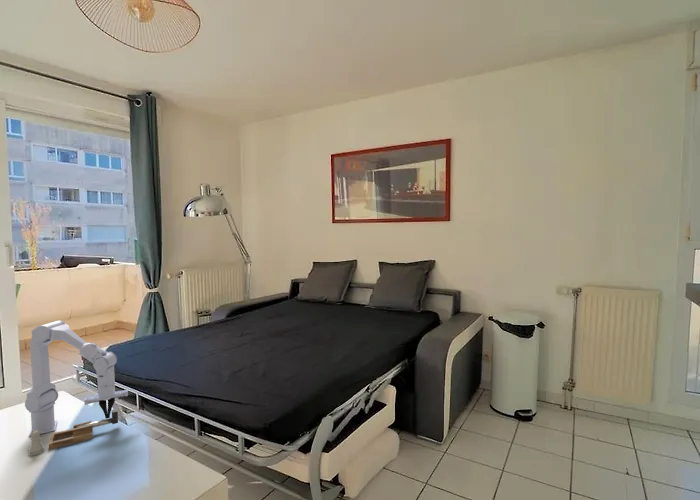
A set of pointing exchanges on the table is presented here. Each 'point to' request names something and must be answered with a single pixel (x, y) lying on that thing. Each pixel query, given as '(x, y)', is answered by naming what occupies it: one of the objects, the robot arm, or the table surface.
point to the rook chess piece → (36, 443)
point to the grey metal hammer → (104, 422)
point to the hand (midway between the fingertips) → (107, 417)
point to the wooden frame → (77, 433)
